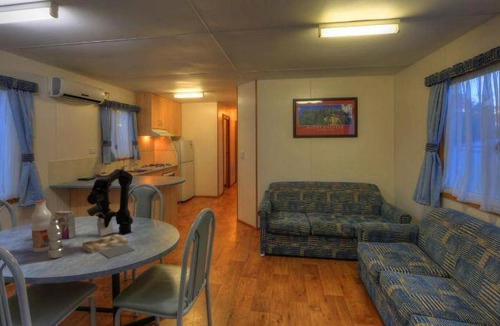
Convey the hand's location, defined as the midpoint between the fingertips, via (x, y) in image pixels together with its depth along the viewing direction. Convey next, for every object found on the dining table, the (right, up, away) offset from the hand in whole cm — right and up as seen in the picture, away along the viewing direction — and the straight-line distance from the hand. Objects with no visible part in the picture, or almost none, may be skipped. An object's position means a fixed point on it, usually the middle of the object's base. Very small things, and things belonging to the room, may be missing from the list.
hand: (104, 227), depth 162 cm
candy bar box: (-33, -10, +16) cm, 38 cm away
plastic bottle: (-17, -12, -16) cm, 27 cm away
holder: (0, -11, +1) cm, 11 cm away
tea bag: (0, -4, +1) cm, 4 cm away
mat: (+11, -11, -9) cm, 18 cm away
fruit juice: (-32, -12, -5) cm, 35 cm away
